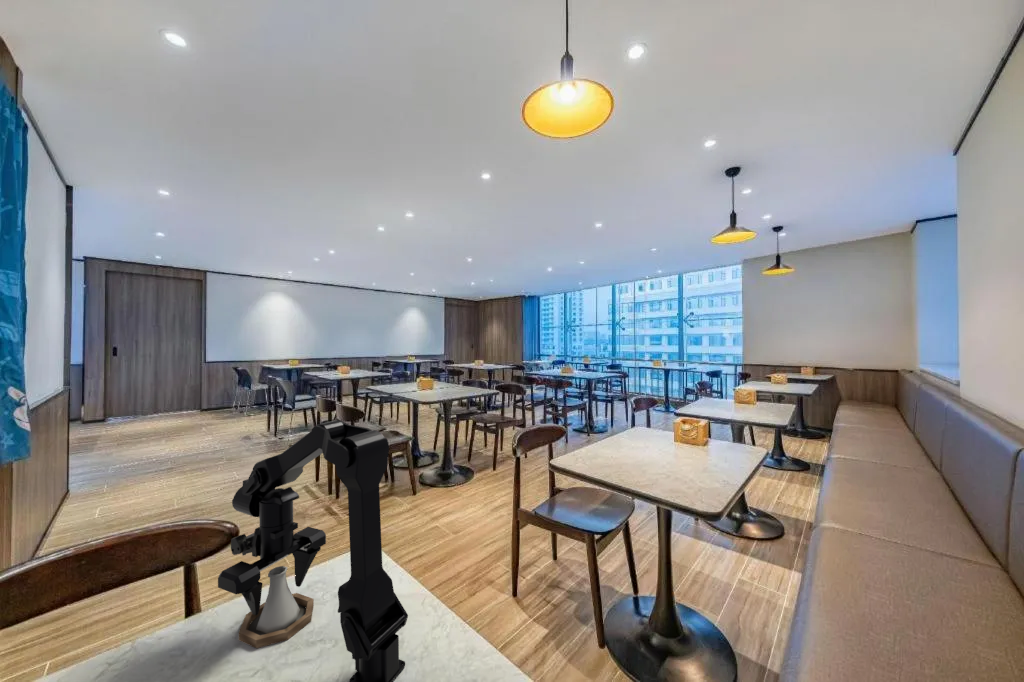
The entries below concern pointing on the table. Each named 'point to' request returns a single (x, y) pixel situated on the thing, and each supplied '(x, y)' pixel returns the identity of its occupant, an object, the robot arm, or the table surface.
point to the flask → (278, 604)
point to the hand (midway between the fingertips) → (277, 599)
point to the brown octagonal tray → (261, 639)
